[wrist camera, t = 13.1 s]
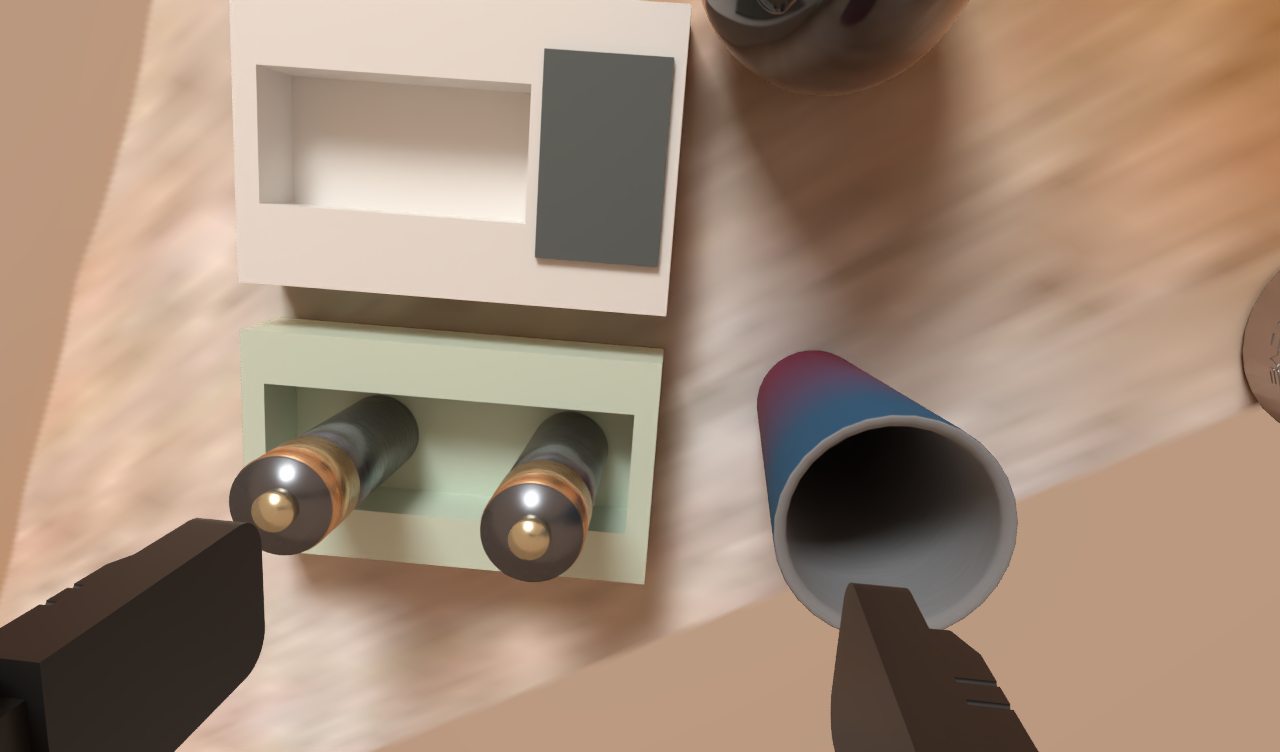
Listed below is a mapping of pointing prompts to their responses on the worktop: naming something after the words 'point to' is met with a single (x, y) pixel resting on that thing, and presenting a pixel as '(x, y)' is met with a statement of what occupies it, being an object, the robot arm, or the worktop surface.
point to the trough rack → (460, 430)
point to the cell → (323, 474)
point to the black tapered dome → (830, 39)
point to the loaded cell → (546, 500)
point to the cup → (878, 493)
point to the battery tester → (460, 148)
